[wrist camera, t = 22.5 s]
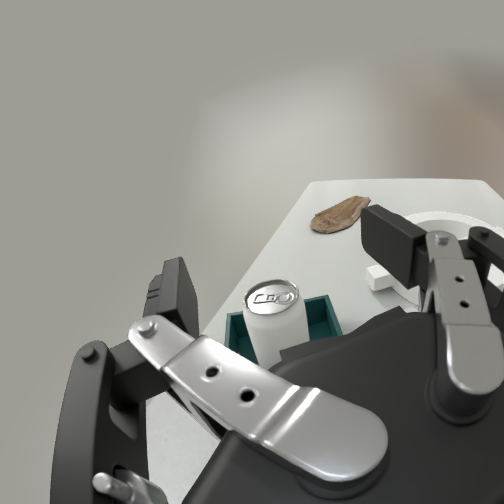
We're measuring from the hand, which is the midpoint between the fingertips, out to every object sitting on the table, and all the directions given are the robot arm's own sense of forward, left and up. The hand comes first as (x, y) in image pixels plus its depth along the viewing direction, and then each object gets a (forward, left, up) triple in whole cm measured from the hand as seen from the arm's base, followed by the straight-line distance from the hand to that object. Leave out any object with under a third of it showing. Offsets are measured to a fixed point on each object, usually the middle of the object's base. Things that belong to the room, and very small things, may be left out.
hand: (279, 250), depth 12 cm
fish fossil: (+20, +57, -24) cm, 65 cm away
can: (-2, +12, -24) cm, 26 cm away
